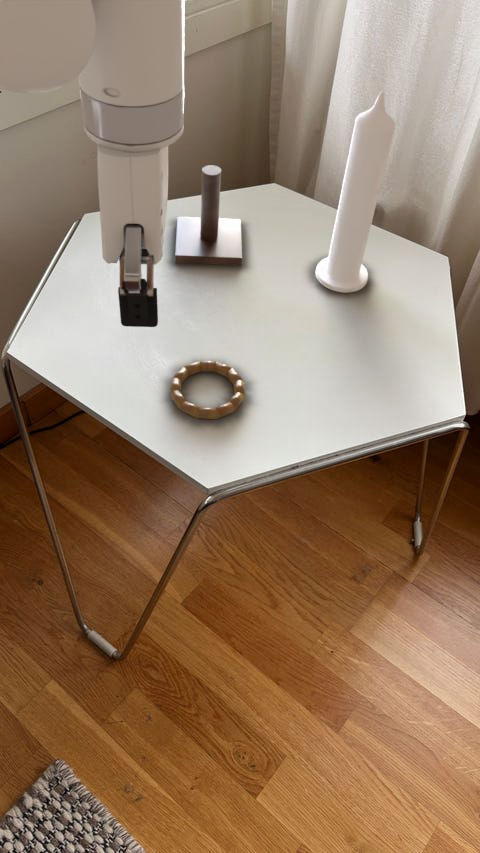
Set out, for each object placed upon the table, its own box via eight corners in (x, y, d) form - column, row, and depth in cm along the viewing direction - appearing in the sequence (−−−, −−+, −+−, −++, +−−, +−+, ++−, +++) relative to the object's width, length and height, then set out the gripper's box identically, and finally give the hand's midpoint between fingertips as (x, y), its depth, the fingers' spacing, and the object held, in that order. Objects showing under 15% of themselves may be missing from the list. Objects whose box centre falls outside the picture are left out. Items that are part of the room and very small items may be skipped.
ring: (168, 419, 78) (168, 412, 77) (171, 365, 83) (171, 357, 82) (245, 421, 78) (246, 414, 77) (243, 367, 84) (244, 360, 83)
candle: (366, 296, 93) (414, 111, 74) (313, 288, 94) (347, 102, 75) (368, 264, 98) (414, 81, 79) (317, 256, 98) (351, 72, 79)
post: (175, 262, 95) (174, 188, 87) (177, 223, 101) (177, 150, 92) (241, 265, 96) (248, 191, 87) (240, 226, 102) (246, 153, 93)
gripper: (94, 54, 58) (110, 232, 71) (67, 168, 47) (92, 353, 60) (186, 59, 58) (185, 234, 71) (181, 173, 47) (181, 355, 60)
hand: (143, 288), depth 66 cm, fingers open, 9 cm apart
